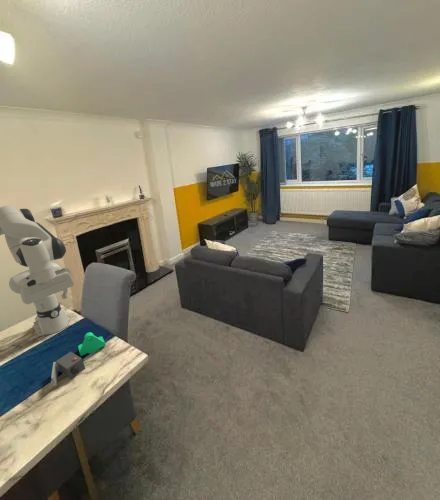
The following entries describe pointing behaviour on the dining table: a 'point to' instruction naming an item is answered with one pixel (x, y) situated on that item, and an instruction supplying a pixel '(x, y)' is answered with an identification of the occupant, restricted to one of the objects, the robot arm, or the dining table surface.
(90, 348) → the camera mount
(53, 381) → the side door
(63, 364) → the camera housing
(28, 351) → the dining table surface
